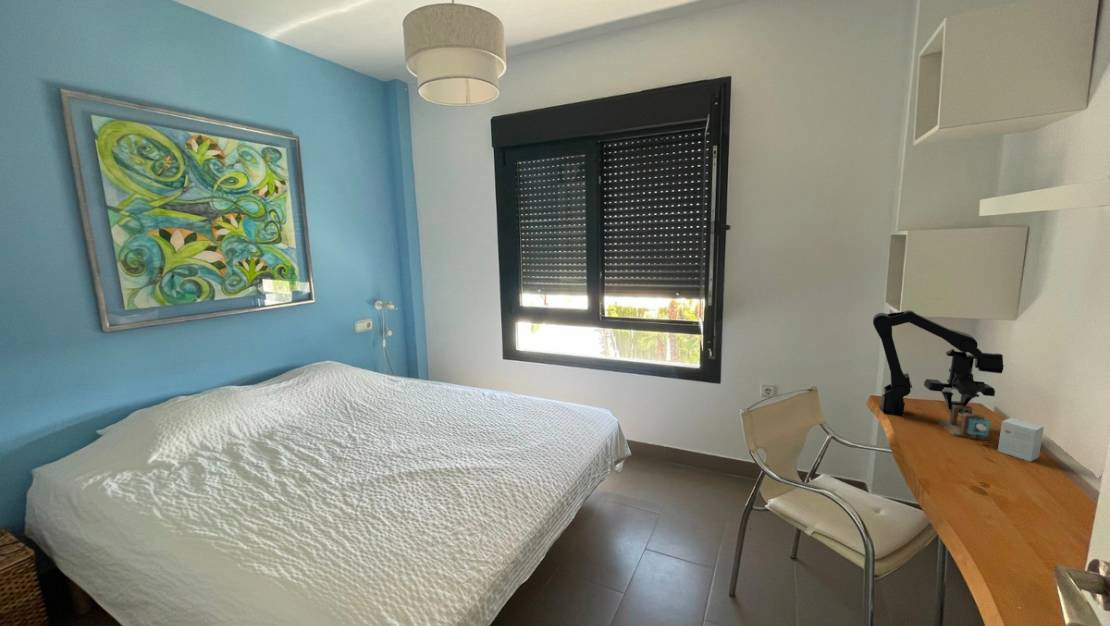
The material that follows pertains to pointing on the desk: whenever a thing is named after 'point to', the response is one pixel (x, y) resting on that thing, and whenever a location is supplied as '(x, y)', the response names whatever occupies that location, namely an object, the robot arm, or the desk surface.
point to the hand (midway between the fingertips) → (955, 409)
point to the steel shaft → (977, 425)
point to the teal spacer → (985, 422)
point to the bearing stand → (962, 423)
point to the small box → (1020, 439)
